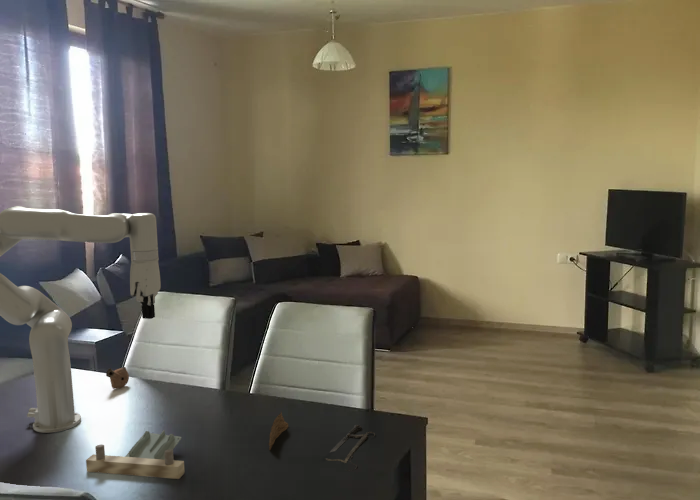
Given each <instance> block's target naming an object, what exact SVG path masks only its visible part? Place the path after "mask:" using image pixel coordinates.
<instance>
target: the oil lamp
mask: <svg viewBox="0 0 700 500" xmlns="http://www.w3.org/2000/svg"><path fill="white" fill-rule="evenodd" d="M105 375H106V377H107V378H109V380H110V385H111V388H112V389H113V390H114V389H122V388H124V387H125V386H126V385H127V384H128V383H129V380H130V374H129V372H128V370H127V368H126V366H123V367H119V368H116V369H115V370H113V369H112V368H111V367H110V368H108V369H107V370H106V374H105Z"/></svg>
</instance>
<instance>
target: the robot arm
mask: <svg viewBox="0 0 700 500" xmlns="http://www.w3.org/2000/svg"><path fill="white" fill-rule="evenodd" d="M124 238H129V245H130V258H131V259H130V260H131V261H130V262H131V263H130V270H129V289H130V292H129V293H130V296H131V297H135V298H136V299H135V300H136V301H135V302H139V303H140V306H141V317H142V319H144V320H145V319H147V320H149V319H150V320H151V319H153V318H156V311H155V303H156V296H157V295H158V294H159V291H160V290H161V287H162V286H161V283H162V282H161V273H160V267H159V260H160V259H159V245H158V230H157V217H156V215H155V214H154V213H150V212H138V213H133V214H131V213H119V212H118V213H117V212H112V213H109V214H106V215H94V214H93V215H92V214H82V213H81V214H79V213H74V212H70V211H68V210H63V209H51V208H50V209H49V208H46V209H45V208H30V207H29V208H28V207H25V206H21V205H16V206H12V207H9V208H5V209H3V210H2V211H0V258H1V257H2V256H3V255H4V254H6V253H7V252H8V251H9V250H11V249H12V248H14V247H15V246H16V245H17V244H18V243H20V242H21V241H22V240H34V241H35V240H41V241H43V240H45V241H61V242H62V241H64V242H77V243H96V244H99V243H101V244H102V243H103V244H115V243H118V242H121V241H122V240H123V239H124ZM0 317H1V318H3V320H4V321H6V322H8V323H9V324H11V325H14V326H23V325H25V324H26V325H27V326H29V327H30V328H31V329H30V331H29V337H28V339H29V340H28V342H29V348H30V353H31V357H32V358H31V359H32V365H33V367H32V368H33V375H34V376H33V377H34V385H35V397H36V407H30V408H29V409H28V413H27V414H26V417H27V418H34V421H33V422H32V429H33V431H34V432H37V433H43V434H46V433H47V434H50V433H59V432H63V431H67V430H70V429H72V428H74V427H76V426H78V425H79V424H80V423H81V422H82V417H81V415H80V413H78V412H75V401H74V400H75V399H74V390H73V375H72V368H71V367H72V366H71V358H70V351H69V350H70V349H69V340H68V339H69V336H70V334H71V332H72V326H73V323H72V319H71V318H70V316H69V314H68V313H66V312H65V310H63V309H62V308H61V307H60V306H58V305H57V304H56V303H54V301H52V300H51V299H50V298H49V297H47V296H46V295H45V294H44V293H43V292H41V291H40V290H39V289H37V288H35V287H32V286H29V285H20V286H18V285H16V284H15V283H13V281H11V280H10V279H9V278H7V277H6V275H3V274H2V273H1V272H0Z"/></svg>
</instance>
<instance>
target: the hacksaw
mask: <svg viewBox="0 0 700 500" xmlns="http://www.w3.org/2000/svg"><path fill="white" fill-rule="evenodd" d="M361 430H362V426H361V425H360V424H355V425H354V426H353V428H352V429H351V430H350V431H348V433H347V434H346V436H344V437H342V439H341V440H340V441H339V442H337V444H336V445H335V446H333V448H332V449H331V450H330V451H329V453H333V452H336V451H337V450H339V448H341V446H343V444H345V442H347V440H348V439H349V438H353V439H355V438H358V439H359V438H360V439H359V440H358V441H357V442H356V443H355V445H354V446H353V447H352V449H350V451H349V453H348V454H347V455H346V456H345V458H344V459H339V458H338V459H330V458H325V459H324V460H325V461H327V462H328V461H330V462H333V461H335V462H337V461H338V462H341V463H343V464H347V463H348V462H350V463H351V464H352V465H354V466H355V468H354V469H350V470H349V469H348V470H347V469H345V471H347V472H348V471H349V472H352V471H355V470H357V469H358V465H357V464H355V463H353V462H352V459H353V458H354V455H353V454H355V452H356V451H357V450H358V449H359V447H361V446H362V444H363V443H364V442H365V441H366V440H367V438H368V437H369V436H368V434H374V435H373V436H371V438H372V437H374V436H376V433H375V432H373V431H369V432H368V431H367V432H366V433H361V434H356V433H357V432H358V431H361Z"/></svg>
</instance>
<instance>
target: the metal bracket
mask: <svg viewBox="0 0 700 500" xmlns="http://www.w3.org/2000/svg"><path fill="white" fill-rule="evenodd" d="M181 440H182V436H179V435H178V436H177V435H174V433H170V434H169V435H168V434H166V430H165V429H164V430H162V432H160V433H152V432H150V431H149V430H146V431H145V432H144V433H143V434H142V435H141V437H140V438H139V439H138V441H136V442H135V444H134V445H133V446H132V448H131V449H129V450H128V452H127V454H126V455H125V456H124V457H135V458H149V459H162V460H165V454H164V451H166V450H169V449H171V450H173V451H174V449H175V448H176V446H177V445H178V444H179V443H180V441H181Z"/></svg>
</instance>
